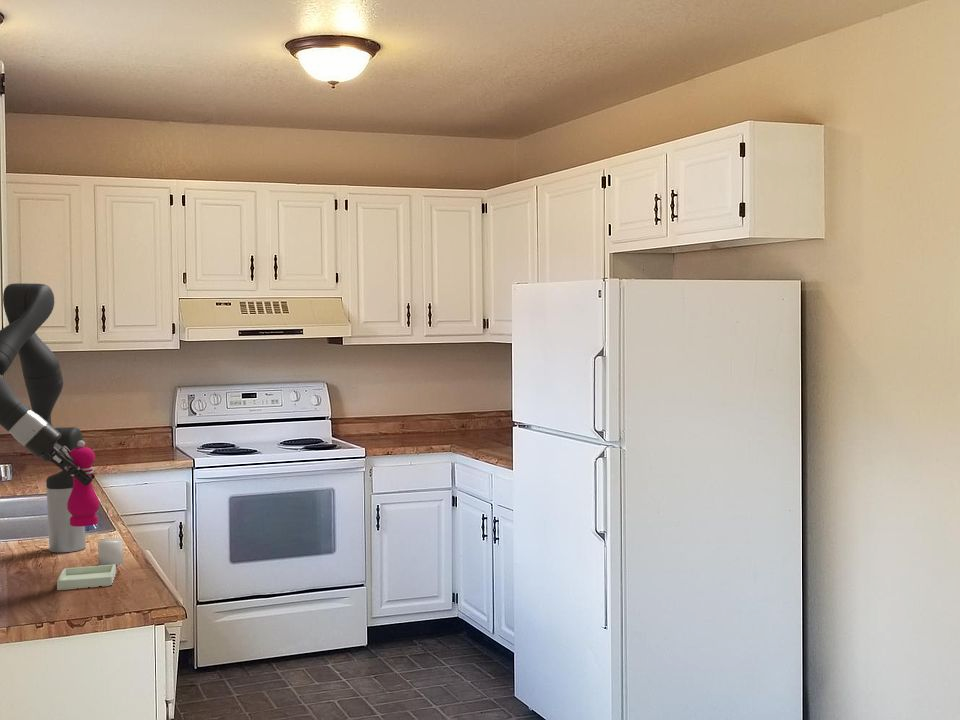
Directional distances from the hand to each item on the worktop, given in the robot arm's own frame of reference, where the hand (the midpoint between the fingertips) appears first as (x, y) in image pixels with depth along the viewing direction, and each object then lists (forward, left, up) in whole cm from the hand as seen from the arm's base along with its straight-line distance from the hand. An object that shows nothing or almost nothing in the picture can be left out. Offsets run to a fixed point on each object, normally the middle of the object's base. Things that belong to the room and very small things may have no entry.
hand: (90, 481), depth 256 cm
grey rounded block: (-17, +2, -24) cm, 29 cm away
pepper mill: (0, -2, -10) cm, 11 cm away
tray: (0, -2, -24) cm, 24 cm away
